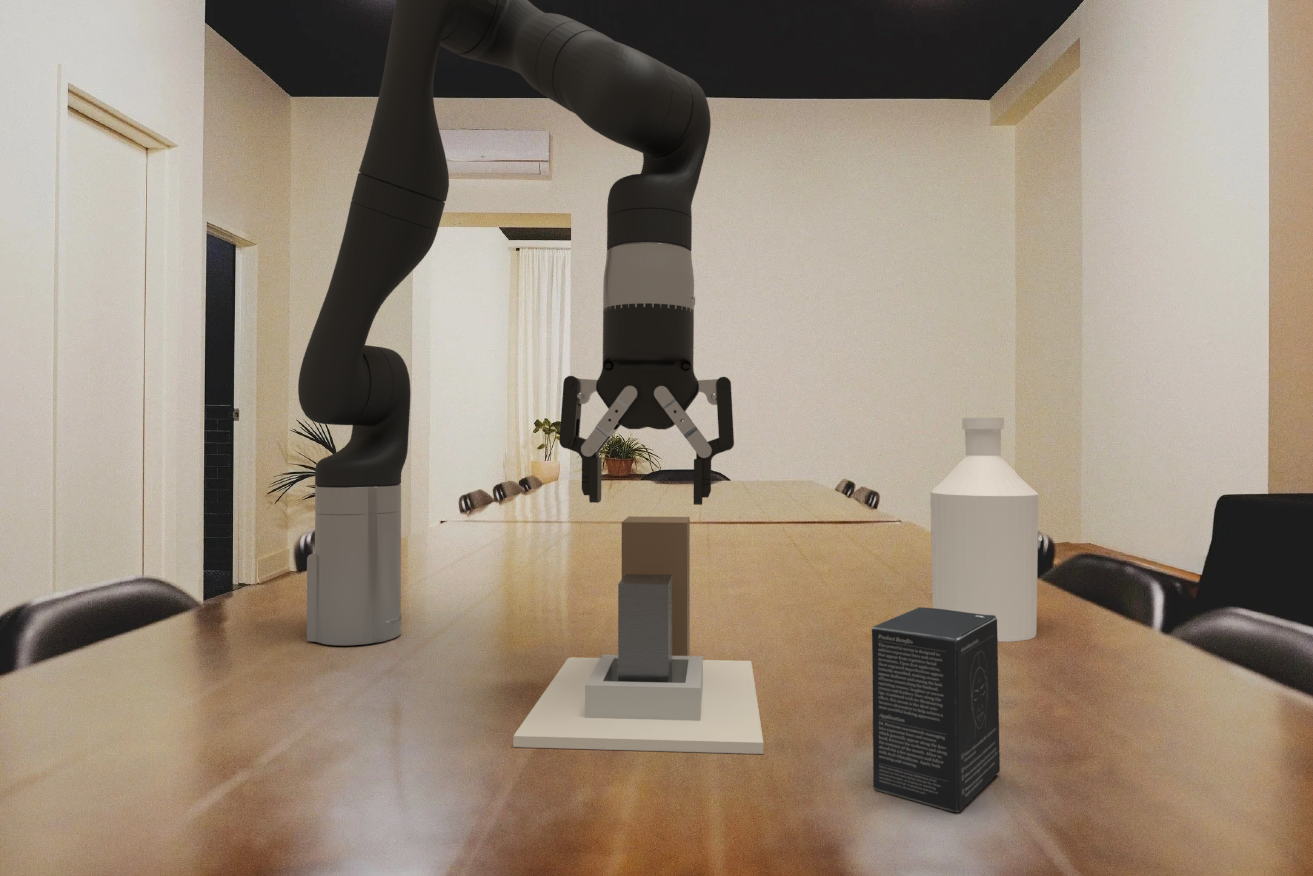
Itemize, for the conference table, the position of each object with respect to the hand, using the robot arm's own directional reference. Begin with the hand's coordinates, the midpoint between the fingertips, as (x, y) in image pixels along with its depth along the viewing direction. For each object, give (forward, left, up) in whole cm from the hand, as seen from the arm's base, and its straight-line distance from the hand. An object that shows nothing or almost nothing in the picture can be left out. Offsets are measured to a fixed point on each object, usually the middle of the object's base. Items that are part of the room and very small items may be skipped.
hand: (646, 503), depth 68 cm
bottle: (+37, +32, -17) cm, 52 cm away
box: (+20, -13, -17) cm, 29 cm away
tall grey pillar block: (0, 0, -16) cm, 16 cm away
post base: (0, +2, -17) cm, 17 cm away
